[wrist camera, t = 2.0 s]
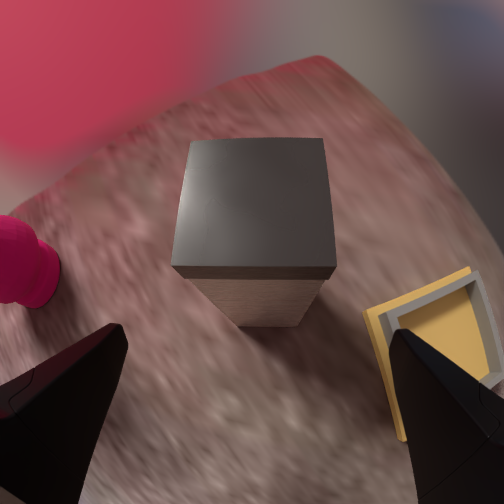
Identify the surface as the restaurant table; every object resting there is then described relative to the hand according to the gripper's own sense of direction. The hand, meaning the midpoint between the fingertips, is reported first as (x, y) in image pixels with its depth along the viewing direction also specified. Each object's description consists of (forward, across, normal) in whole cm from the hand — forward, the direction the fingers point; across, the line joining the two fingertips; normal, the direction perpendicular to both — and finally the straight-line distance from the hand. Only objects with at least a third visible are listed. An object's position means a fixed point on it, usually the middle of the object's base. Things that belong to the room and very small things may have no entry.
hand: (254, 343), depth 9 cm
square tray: (+7, -13, +8) cm, 17 cm away
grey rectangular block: (+10, 0, +5) cm, 11 cm away
